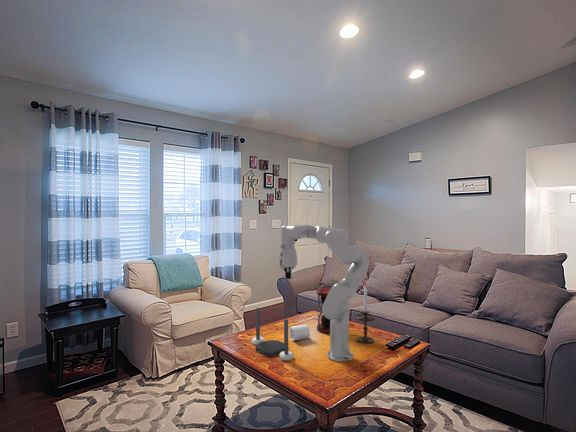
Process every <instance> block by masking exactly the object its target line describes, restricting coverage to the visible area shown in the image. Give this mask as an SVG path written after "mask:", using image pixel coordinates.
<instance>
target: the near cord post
mask: <svg viewBox="0 0 576 432" xmlns="http://www.w3.org/2000/svg"><path fill="white" fill-rule="evenodd" d="M283 343H284V351H283V352H281V353H280V354H279V359H280V360H281V361H285V362H289V361H291V360H293V359H294V353H293V352H292V351H289V319H288V318H285V319H283Z"/></svg>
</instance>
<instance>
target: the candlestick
mask: <svg viewBox="0 0 576 432" xmlns="http://www.w3.org/2000/svg"><path fill="white" fill-rule="evenodd" d="M363 283H364V288H363V310H362V311H361V312H362V313H357V314H356V315H355V319H356V320H358V321H361V322H363V323H364V324H363V327H362V329H363V336H362V335H361V336H358V337H357V342H358V343H360V344H362V345H363V344H365V345H370V344H373V343H374V338H373V337H370V336H368V335H367V334H368V332H369V331H368V329H369V327H367V326H368V325H367V322H373V321H375V320H376V316H375V315H373V314H371V313H369V312H370V311H368V289H367V284H366V282H365V281H363Z"/></svg>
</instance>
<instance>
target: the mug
mask: <svg viewBox="0 0 576 432" xmlns="http://www.w3.org/2000/svg"><path fill="white" fill-rule="evenodd" d="M310 334H311V331H310V328H309V326H308V324H306V323H305V324H300V325H294V326H290V327H289V328H288V336H289V339H290V340H291V341H292V342H294V341H295V342H296V341H302V340H306V339H309V338H310Z"/></svg>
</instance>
